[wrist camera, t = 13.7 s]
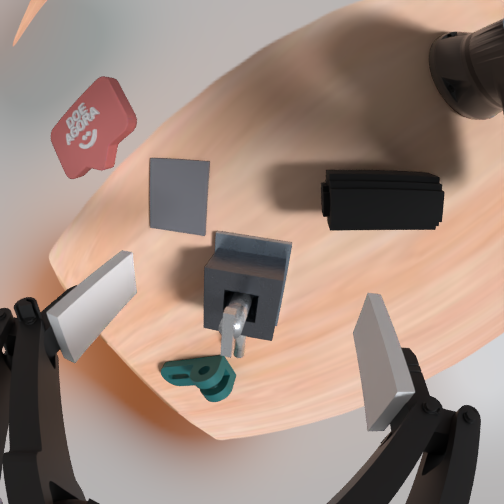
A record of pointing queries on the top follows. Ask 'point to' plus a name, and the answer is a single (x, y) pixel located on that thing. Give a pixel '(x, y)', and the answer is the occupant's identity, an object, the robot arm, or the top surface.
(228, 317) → the silver grey long piece
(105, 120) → the plaque
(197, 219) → the mat
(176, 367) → the bracket
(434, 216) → the security camera
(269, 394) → the top surface
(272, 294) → the hollow square block
